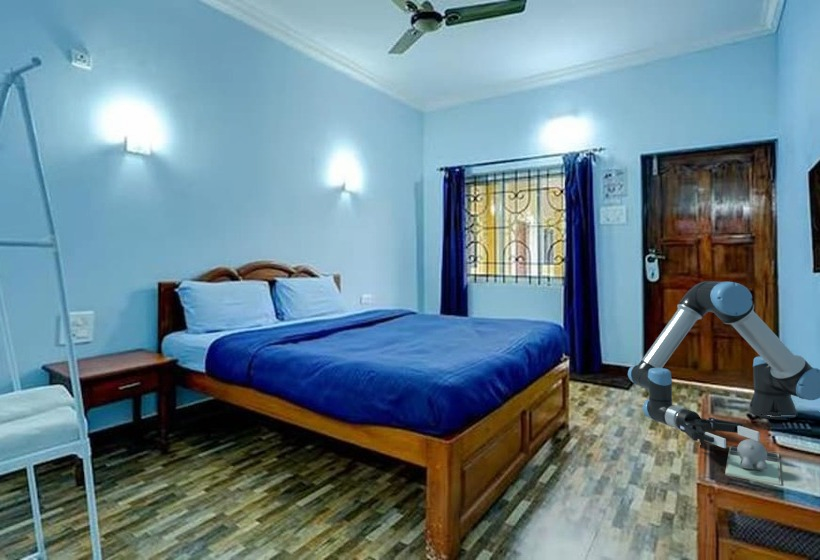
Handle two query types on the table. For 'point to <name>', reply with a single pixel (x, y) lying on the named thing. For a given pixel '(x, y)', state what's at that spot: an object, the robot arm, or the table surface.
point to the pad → (753, 470)
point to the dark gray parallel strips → (766, 458)
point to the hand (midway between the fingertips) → (742, 440)
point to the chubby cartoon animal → (752, 454)
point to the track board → (754, 478)
